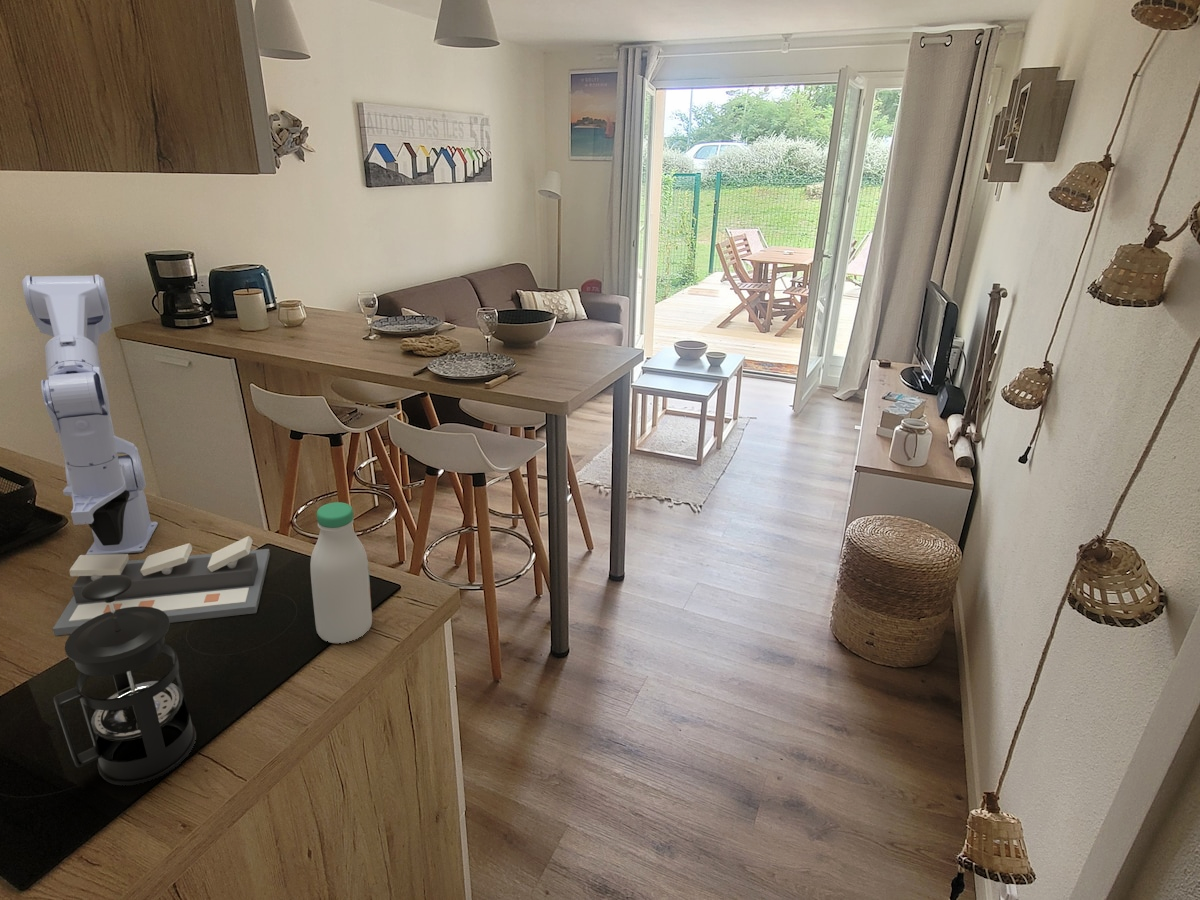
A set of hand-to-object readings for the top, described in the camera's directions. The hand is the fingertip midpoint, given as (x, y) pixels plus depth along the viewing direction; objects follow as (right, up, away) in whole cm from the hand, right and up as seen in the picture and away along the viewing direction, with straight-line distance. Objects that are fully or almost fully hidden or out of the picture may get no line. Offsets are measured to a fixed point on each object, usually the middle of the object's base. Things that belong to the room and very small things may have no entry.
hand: (112, 542), depth 96 cm
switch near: (-3, -5, +1) cm, 6 cm away
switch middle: (+6, -4, +4) cm, 8 cm away
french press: (+19, -21, -20) cm, 35 cm away
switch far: (+14, -4, +7) cm, 16 cm away
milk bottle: (+33, -13, +2) cm, 36 cm away
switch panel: (+5, -8, +6) cm, 11 cm away
